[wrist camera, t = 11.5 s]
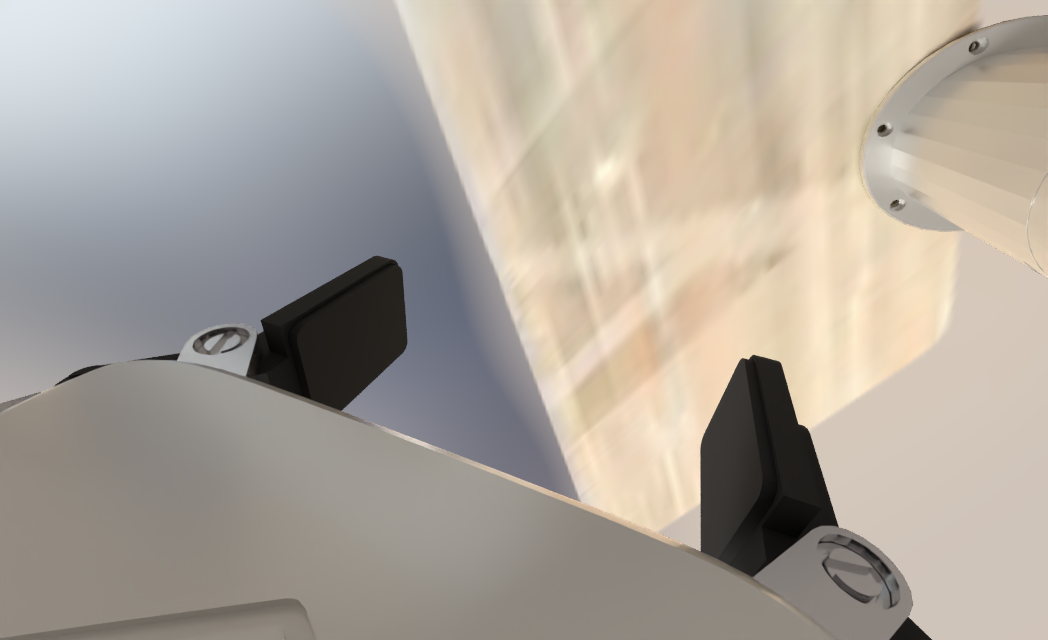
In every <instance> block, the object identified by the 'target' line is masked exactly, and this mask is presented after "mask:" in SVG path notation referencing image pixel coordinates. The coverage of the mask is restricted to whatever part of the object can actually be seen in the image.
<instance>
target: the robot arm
mask: <svg viewBox="0 0 1048 640" xmlns="http://www.w3.org/2000/svg"><path fill="white" fill-rule="evenodd" d="M972 42H975V44H976V46H975V48H974V49H973V50H972V51H970V52H969V51H968V50H969V46H970V45H971V43H972ZM881 125H884V126H885V129H884V130H883V131H881V132H878V131H877V129H878V128H879V126H881ZM859 169H860V174H861V179H862V184H863V186H864V188H865V190H866V192H867V194H868V196H869V197H870V199H871V200H872V201H873V202H874V203H875V204H876V205H877V207H878V208H879V209H881V210H882V211H883V212H884V213H886V214H887V215H888V216H890V217H892V218H894V219H896V220H897V221H899V222H901V223H903V224H905V225H909V226H912V227H915V228H919V229H923V230H931V231H939V232H952V231H967V232H969V233H971V234H973V235H974V236H976V237H978V238H979V239H981V240H983V241H984V242H986V243H988V244H990V245H991V246H993V247H995V248H996V249H998V250H1000V251H1002V252H1004V253H1005V254H1007V255H1008V256H1010V257H1012V258H1014V259H1015V260H1017V261H1019V262H1021V263H1022V264H1024V265H1026V266H1027V267H1029V268H1031V269H1033V270H1034V271H1036V272H1038V273H1039V274H1041V275H1043V276H1044V277H1046V278H1048V15H1044V16H1032V17H1024V18H1019V19H1014V20H1009V21H1003V22H1000V23H997V24H994V25H991V26H988V27H985V28H982V29H979V30H976V31H974V32H971V33H969V34H967V35H965V36H963V37H961V38H959V39H957V40H955V41H952V42H950V43H949V44H947V45H945V46H944V47H942V48H941V49H939V50H938V51H936V52H934V53H933V54H931V55H930V56H928V57H927V58H925V59H924V60H923V61H922V62H920V63H919V64H918V65H917V66H916V67H914V68H913V69H912V70H911V71H909V72H908V73H907V74H906V75H905V76H904V77H903V78H902V79H901V80H900V81H899V82H898V83H897V84H896V85H895V86H894V88H893V89H892V90H891V91H890V92H889V93H888V94H887V95H886V97H885V98H884V100H883V101H882V103H881V104H880V105H879V107H878V108H877V110H876V111H875V113H874V115H873V117H872V119H871V121H870V123H869V125H868V127H867V129H866V131H865V134H864V138H863V142H862V145H861V149H860V162H859ZM895 200H897V203H896V204H894V205H890V204H891V203H892V202H893V201H895ZM261 323H262V326H263V329H264V331H263V332H262V333H260V334H257V331H256V330H255V329H254V328H253V327H251V326H249V325H245V324H239V323H233V324H223V325H218V326H214V327H211V328H207V329H205V330H203V331H201V332H199V333H197V334H195V335H194V336H192V337H191V338H190V339H189V340H188V341H187V342H186V344H185V345H184V347H183V349H182V351H181V353H179V354H172V355H165V356H159V357H152V358H147V359H140V360H133V361H126V362H118V363H113V364H107V365H99V366H91V367H86V368H83V369H80V370H78V371H76V372H74V373H72V374H71V375H69V377H67V378H65V379H63V380H62V381H60V382H59V383H57V384H56V385H55V386H54V387H53V388H50V389H48V390H46V391H44V392H42V393H41V392H39V393H35V394H32V395H28V396H25V397H22V398H18V399H15V400H11V401H8V402H4V403H1V404H0V640H932V639H931V638H930V637H929V636H928V635H926V634H925V633H924V632H923V631H922V630H921V629H920V628H919V627H918V626H917V625H916V624H915V623H914V622H913V621H912V620H911V619H910V618H909V617H908V616H909V615H910V612H911V609H912V606H913V601H912V595H911V590H910V589H909V586H908V584H907V582H906V580H905V578H904V577H903V575H902V574H901V572H900V571H899V570H898V568H897V567H896V566H895V565H894V563H893V562H892V561H891V560H890V559H889V558H888V557H887V556H886V555H885V554H884V553H883V552H882V551H881V550H879V549H878V548H877V547H876V546H874V545H873V544H871V543H870V542H869V541H867V540H866V539H864V538H863V537H861V536H859V535H857V534H855V533H853V532H851V531H849V530H846V529H843V528H839V527H838V524H837V520H836V517H835V514H834V511H833V507H832V504H831V501H830V497H829V494H828V491H827V487H826V484H825V481H824V478H823V474H822V471H821V468H820V465H819V462H818V458H817V455H816V452H815V449H814V445H813V442H812V439H811V435H810V433H809V431H808V429H807V428H806V427H805V426H802V425H799V424H798V422H797V418H796V414H795V411H794V407H793V404H792V400H791V397H790V393H789V390H788V386H787V383H786V379H785V375H784V372H783V368H782V365H781V363H780V362H779V361H775V360H772V359H768V358H764V357H760V356H756V355H752V356H751V357H750V359H749V360H748V359H744V358H742V359H741V360H740V361H739V363H738V365H737V367H736V369H735V371H734V373H733V375H732V378H731V380H730V382H729V384H728V386H727V388H726V390H725V392H724V394H723V396H722V398H721V400H720V402H719V404H718V407H717V409H716V411H715V413H714V415H713V417H712V419H711V421H710V423H709V425H708V427H707V429H706V431H705V434H704V436H703V439H702V443H701V551H698V550H696V549H694V548H691V547H689V546H687V545H685V544H682V543H680V542H678V541H676V540H674V539H671V538H669V537H666V536H664V535H661V534H659V533H656V532H654V531H651V530H649V529H646V528H644V527H641V526H639V525H636V524H634V523H631V522H629V521H626V520H624V519H622V518H619V517H617V516H614V515H612V514H609V513H607V512H604V511H602V510H599V509H597V508H594V507H591V506H589V505H586V504H584V503H581V502H579V501H576V500H573V499H570V498H568V497H566V496H563V495H560V494H558V493H555V492H552V491H550V490H547V489H545V488H542V487H540V486H537V485H534V484H532V483H529V482H527V481H524V480H521V479H519V478H516V477H514V476H511V475H509V474H506V473H503V472H501V471H498V470H496V469H493V468H490V467H488V466H485V465H483V464H480V463H477V462H475V461H472V460H469V459H467V458H464V457H462V456H459V455H456V454H453V453H451V452H448V451H446V450H443V449H441V448H438V447H435V446H432V445H430V444H427V443H425V442H422V441H419V440H416V439H414V438H412V437H409V436H406V435H404V434H401V433H398V432H396V431H393V430H390V429H388V428H385V427H383V426H380V425H377V424H374V423H371V422H369V421H366V420H364V419H361V418H358V417H356V416H353V415H350V414H348V413H345V412H342V411H341V410H343V409H344V408H345V407H346V406H347V405H348V404H349V403H350V402H351V401H352V400H353V399H354V398H355V397H356V396H357V395H359V393H361V392H362V391H363V390H364V389H365V388H366V387H367V386H368V385H369V384H370V383H371V382H372V381H374V380H375V379H376V378H377V377H378V376H379V375H380V374H381V373H382V372H383V371H384V370H385V369H386V368H387V367H388V366H389V365H390V364H392V363H393V361H395V360H396V359H397V358H398V357H399V356H400V355H401V354H402V353H403V352H404V350H405V349H406V346H407V329H406V315H405V303H404V288H403V274H402V269H401V268H400V267H399V266H398V264H397V262H396V261H395V260H392V259H388V258H384V257H381V256H374V257H372V258H370V259H368V260H367V261H365V262H363V263H361V264H360V265H358V266H356V267H354V268H352V269H351V270H349V271H347V272H345V273H344V274H342V275H340V276H338V277H336V278H335V279H333V280H331V281H329V282H328V283H326V284H324V285H322V286H321V287H319V288H317V289H315V290H313V291H312V292H310V293H308V294H306V295H305V296H303V297H301V298H299V299H297V300H296V301H294V302H292V303H290V304H288V305H287V306H285V307H283V308H281V309H280V310H278V311H276V312H274V313H273V314H271V315H269V316H267V317H265V318H264V319H262V320H261Z"/></svg>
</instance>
